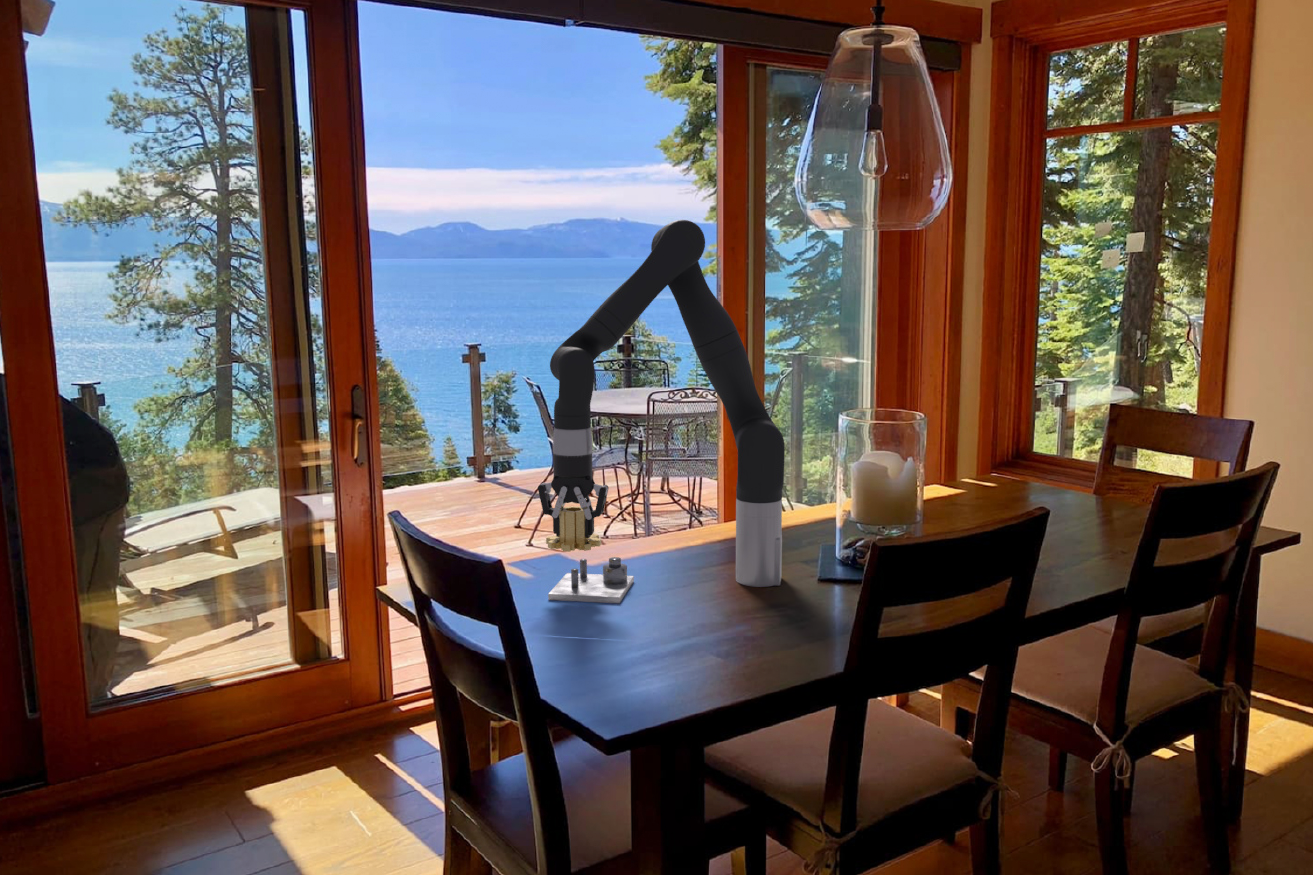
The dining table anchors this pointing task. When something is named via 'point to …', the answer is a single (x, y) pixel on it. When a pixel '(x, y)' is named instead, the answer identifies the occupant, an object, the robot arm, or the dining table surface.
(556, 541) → the planet gear
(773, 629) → the dining table surface
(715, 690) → the dining table surface
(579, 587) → the plate
